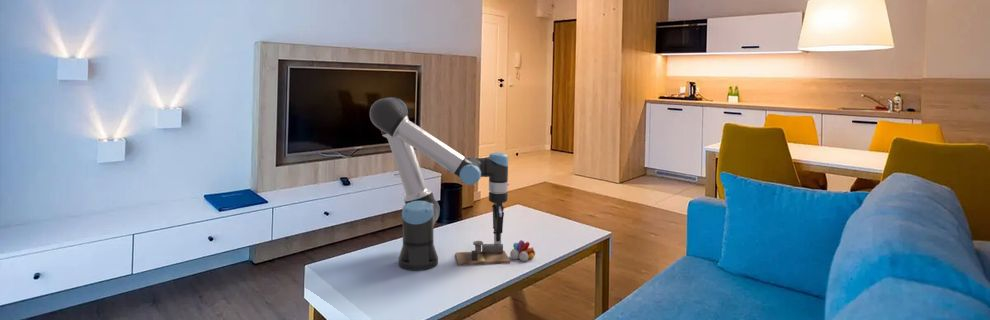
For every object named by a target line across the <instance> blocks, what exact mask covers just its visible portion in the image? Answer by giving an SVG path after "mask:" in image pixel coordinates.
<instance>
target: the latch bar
mask: <svg viewBox="0 0 990 320" xmlns="http://www.w3.org/2000/svg"><path fill="white" fill-rule="evenodd" d="M481 251H482V253H503V251H504V245H503V243H501V244H494V243H483V245H481Z"/></svg>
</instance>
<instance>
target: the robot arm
mask: <svg viewBox="0 0 990 320" xmlns="http://www.w3.org/2000/svg"><path fill="white" fill-rule="evenodd" d="M369 118H370V121H371V123H372V125H374V126H375V128H377V129H379V130H380V131H381V135H382V137H384V138H386V139H387V141H388V144H389V146H390V147H389V148H390V150H391V153H392V156H393V159H394V162H395V165H396V167H397V170H398V171H397V172H398V174H399V176H400V180H401V183H402V185H403V189H404V191H405V194H406V195H405V198H404V201H403V202H404V203H405V204H404V205H403V207H402V211H401V218H402V219H401V220H402V222H401V223H402V224H401V225H402V247H401V250H400V253H399V256H398V260H397V261H398V266H399V267H400V268H401V269H403V270H408V271H426V270H430V269H433V268H435V267H437V266H438V265H439V256H438V253H437V250H436V247H435V244H434V227H435V224H436V222H437V221H438V219H439V217H440V213H441V212H440V211H441V209H440V205H439V202H438V200H436V199H435V196H434V193H433V191H432V189H429V188H428V187H427V184H426V181H425V179H424V175H423V173H422V169H421V167H420V164H419V160H418V157H417V155H416V151H415V150H417V151H418V152H420V153H421V154H423V155H424V156H426V157H427V158H429V159H430V160H432V161H434V162H435V163H437V164H439V165H440V166H441V167H443V168H445V169H446V170H448V171H449V172H451V173H452V174H454V175H455V176H457V177H458V178H459V179H460V180H461V182H462V183H463V184H465V185H468V186H473V185H475V184H477V182H479V181H480V179H481V178H488V191H489V192H488V201H489V202H490V203H493V204H492V206H491V207H492V228H493V244H502V234H503V227H504V216H505V212H504V210H505V209H504V208H505V207H504V206H503V203H506V202H507V201H508V186H510V183H509V182H508V181H509V180H508V179H509V156H508V155H507V154H506V153H503V152H491V153H489V157H483V158H482V157H481V158H480V157H465V156H464V155H462V154H461V153H460V152H458V151H457V150H455V149H454V148H452V147H450V146H449V145H447V144H446V143H445V142H443V141H442V140H440V139H438V138H437V137H436V136H433V135H432V134H431V133H429V132H428V131H426V130H425V129H423V128H422V127H420V126H419V125H417V123H416V124H415V123H414V122H413V121H410V119H409V111H408V108H407V105H406V103H404V101H403V100H402V99H400V98H397V97H394V96H393V97H392V96H389V97H384V98H380V99H377V100H376V101H374V103H372V104H371V106H370V109H369Z"/></svg>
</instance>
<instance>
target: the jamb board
mask: <svg viewBox="0 0 990 320" xmlns="http://www.w3.org/2000/svg"><path fill="white" fill-rule="evenodd" d="M483 244H484V241H482V240H475V241H473V242H472V245H473V246H474V249H475V250H471V251H463V252H455V258H456V261H457V266H459V267H460V266H481V265H482V266H483V265H497V264H498V265H499V264H510V263H511V260H510V258H509V256H508V255H507V253H506V251H505V250H503V253H482V245H483Z"/></svg>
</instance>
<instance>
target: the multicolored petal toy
mask: <svg viewBox="0 0 990 320" xmlns="http://www.w3.org/2000/svg"><path fill="white" fill-rule="evenodd" d="M512 246H513V248H512V249H511V251H510V253H509V255H510V258H511V259H513V260H518V259H519V260H520V261H521V262H527V261H529V259H533V258H534V257H535V256H536V250H535V249H534V247H529V246H530V242H529V241H526V242H525V241H524V240H522V239H521V240H519V241H518V242H514V243H513V245H512Z"/></svg>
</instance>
